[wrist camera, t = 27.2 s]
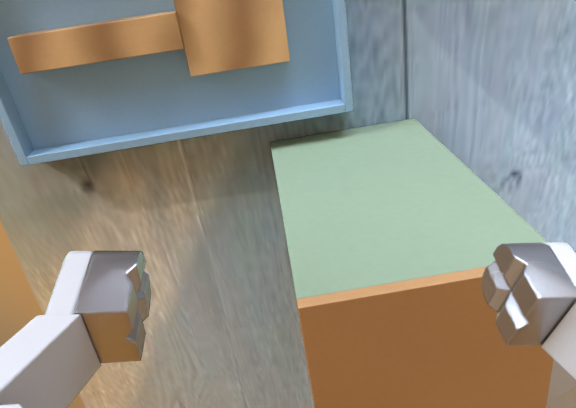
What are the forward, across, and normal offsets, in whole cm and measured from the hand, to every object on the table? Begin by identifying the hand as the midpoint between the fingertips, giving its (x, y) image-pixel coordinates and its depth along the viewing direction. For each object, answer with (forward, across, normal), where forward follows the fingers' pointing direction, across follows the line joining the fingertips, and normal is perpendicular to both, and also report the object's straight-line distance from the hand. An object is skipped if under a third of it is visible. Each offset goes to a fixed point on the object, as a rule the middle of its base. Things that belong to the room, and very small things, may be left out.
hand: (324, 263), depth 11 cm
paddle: (+35, +9, +9) cm, 37 cm away
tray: (+36, +8, +10) cm, 38 cm away
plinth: (+32, -10, +25) cm, 41 cm away
